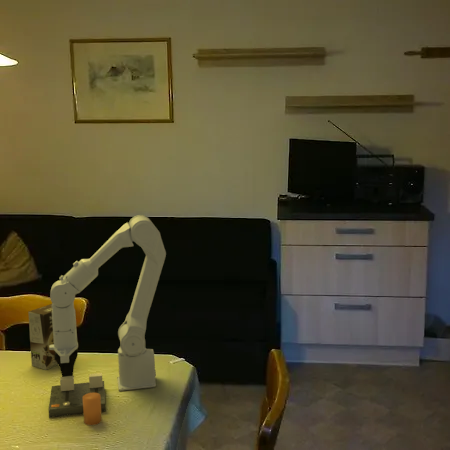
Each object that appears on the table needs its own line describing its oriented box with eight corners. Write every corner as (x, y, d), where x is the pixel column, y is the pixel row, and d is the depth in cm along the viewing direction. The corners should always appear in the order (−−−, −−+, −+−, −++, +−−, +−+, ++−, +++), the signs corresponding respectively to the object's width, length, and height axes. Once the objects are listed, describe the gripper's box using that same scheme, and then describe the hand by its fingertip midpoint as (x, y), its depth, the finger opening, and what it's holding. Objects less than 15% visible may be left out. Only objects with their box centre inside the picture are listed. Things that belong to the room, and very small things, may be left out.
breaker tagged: (74, 386, 154) (73, 375, 153) (74, 390, 152) (73, 378, 151) (61, 388, 153) (60, 377, 153) (60, 391, 151) (60, 379, 151)
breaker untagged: (102, 384, 155) (102, 372, 155) (102, 387, 153) (102, 375, 153) (89, 385, 155) (89, 374, 154) (89, 388, 153) (89, 377, 152)
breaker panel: (104, 388, 158) (104, 379, 157) (105, 411, 145) (105, 401, 145) (52, 393, 155) (51, 384, 155) (49, 417, 142) (48, 408, 142)
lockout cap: (101, 415, 143) (100, 391, 142) (101, 423, 139) (100, 399, 138) (84, 417, 142) (82, 393, 141) (83, 426, 138) (82, 401, 137)
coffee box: (46, 370, 169) (42, 314, 167) (31, 366, 173) (26, 311, 170) (71, 359, 177) (67, 305, 174) (55, 355, 180) (52, 302, 178)
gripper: (50, 320, 160) (53, 369, 162) (46, 339, 146) (49, 392, 148) (77, 318, 161) (80, 366, 163) (76, 336, 147) (79, 389, 149)
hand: (67, 379), depth 156 cm, fingers closed
